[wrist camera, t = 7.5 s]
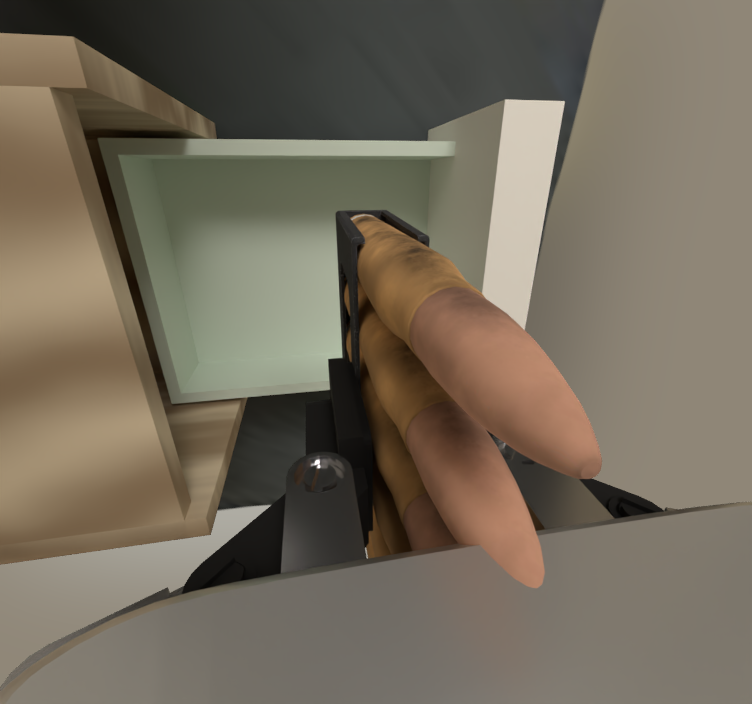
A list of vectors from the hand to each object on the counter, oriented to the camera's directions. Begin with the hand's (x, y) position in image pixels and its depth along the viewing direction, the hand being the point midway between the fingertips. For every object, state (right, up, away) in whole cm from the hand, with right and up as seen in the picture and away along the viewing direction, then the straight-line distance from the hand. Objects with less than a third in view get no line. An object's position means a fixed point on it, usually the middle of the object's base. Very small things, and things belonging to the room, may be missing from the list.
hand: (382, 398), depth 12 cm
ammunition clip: (-1, +2, +4) cm, 4 cm away
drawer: (-4, +9, +19) cm, 21 cm away
